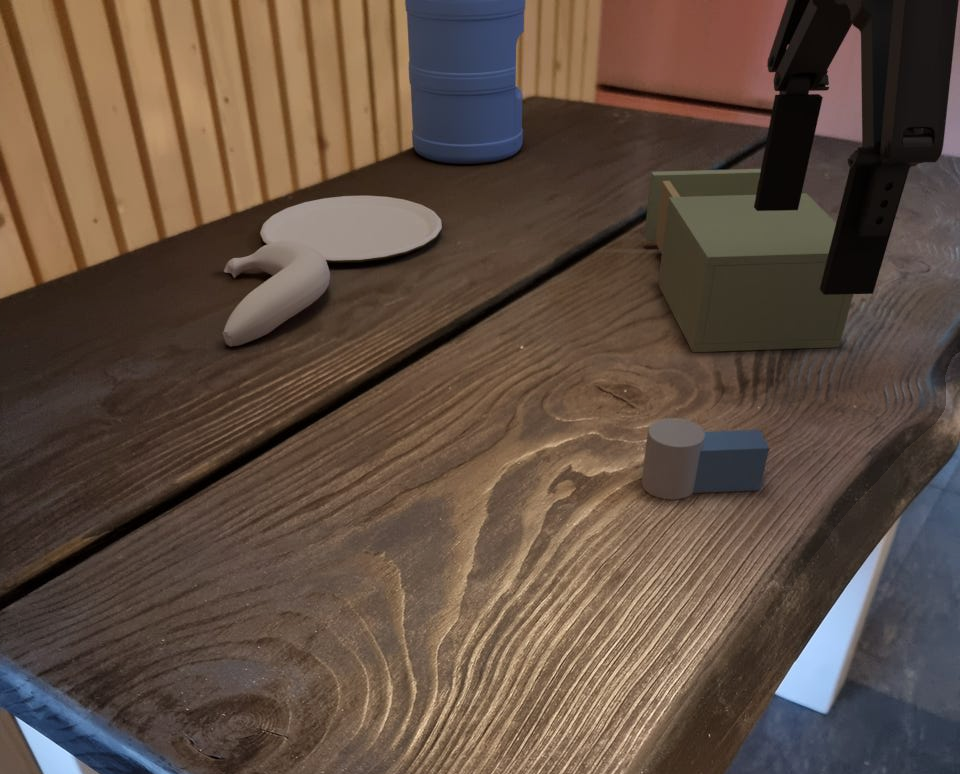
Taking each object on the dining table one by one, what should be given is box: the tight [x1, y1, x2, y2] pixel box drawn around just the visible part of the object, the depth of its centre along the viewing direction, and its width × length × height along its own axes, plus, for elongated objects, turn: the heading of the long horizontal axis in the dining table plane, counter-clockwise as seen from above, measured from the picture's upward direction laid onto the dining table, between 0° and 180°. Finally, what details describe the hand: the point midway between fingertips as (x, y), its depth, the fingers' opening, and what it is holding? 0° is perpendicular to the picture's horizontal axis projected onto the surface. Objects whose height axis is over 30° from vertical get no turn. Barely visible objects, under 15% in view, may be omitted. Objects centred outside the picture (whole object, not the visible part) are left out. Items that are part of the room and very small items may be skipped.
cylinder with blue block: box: [640, 417, 771, 501], centre depth 67 cm, size 8×4×4 cm, turn 93°
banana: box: [221, 241, 331, 348], centre depth 91 cm, size 5×19×15 cm
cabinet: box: [657, 192, 854, 353], centre depth 87 cm, size 16×14×9 cm
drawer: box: [643, 168, 761, 254], centre depth 97 cm, size 19×12×7 cm, turn 3°
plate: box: [259, 195, 443, 264], centre depth 106 cm, size 21×21×1 cm
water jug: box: [404, 0, 526, 165], centre depth 122 cm, size 16×16×28 cm
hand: (807, 247), depth 55 cm, fingers open, 13 cm apart
